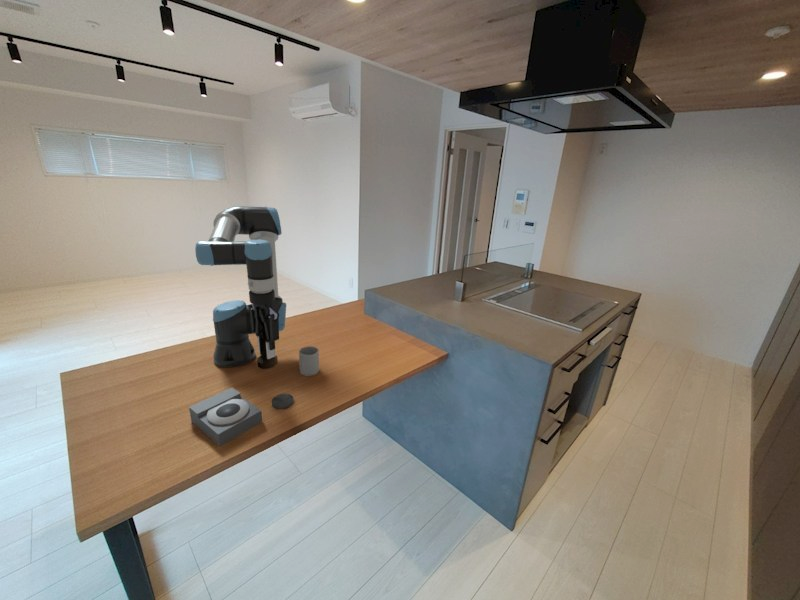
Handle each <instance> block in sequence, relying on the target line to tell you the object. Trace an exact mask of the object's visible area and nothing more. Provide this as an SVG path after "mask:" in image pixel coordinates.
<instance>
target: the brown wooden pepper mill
mask: <svg viewBox="0 0 800 600" xmlns="http://www.w3.org/2000/svg"><path fill="white" fill-rule="evenodd" d="M259 322H260V323H261V325H262V326H263V328H262V329H261V330H262V334H260V335H259V340H260V351H261V354H260V355H259V356H258V357H257V358H256V365H257V367H258V368H259V369H261V370H268V369H273V368H275V367H276V366H277V365H278V364H279V359H278V355H276V354H275V357H273V358H270V359H267V351H266V342H265V341H266V340H267V336H266V331H265V326H264V322H262V319H261V317H260V319H259Z"/></svg>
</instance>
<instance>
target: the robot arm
mask: <svg viewBox="0 0 800 600" xmlns="http://www.w3.org/2000/svg"><path fill="white" fill-rule="evenodd" d="M282 233H283V232H282V225H281V220H280V216H279V211H278V209H277V208H275V207H272V206H271V207H269V206H244V205H243V206H242V205H241V206H240V205H239V206H238V205H237V206H236V205H235V206H231V207H229V208H227V209H224V210H222V211H221V212H219V213H218V214H217V215H216V216H215V217H214V219H213V229H212V232H211V233H210V236H209V238H208V239H207V240H203V241H202V240H201V241H197V242H196V243H195V257H196V262H197V263H198V264H199V265H201V266H210V267H213V266H235V265H236V266H237V265H239V266H240V265H245V266H246V272H247V274H246V275H247V285H248V290H249V291H248V295H249V296H248V297H249V302H250V304H246V302H245V301H244V300H236V299H235V300H231V301H226V302H222V303H220V304H218V305H217V306H215V307H214V308H213V311H212V322H213V325H214V326H213V327H214V333H215V341H216V343H215V347H214V352H213V355H212V356H213V363H214V364H215V365H216V366H219V367H220V368H221V367H222V368H234V367H235V368H236V367H240V366H243V365H246V364H248V363H250V362H251V361H253V360H254V359H255V357H256V349H255V348H254V346H253V344H252V342H251V340H250V335H255V336H256V339H257V348H258V355H261V351H260V340H259V335H260V334H262V330H261V329H262V328H263V326H262V325H261V323H260V322H259V319H260V317H261V319H262V322H264V326H265V331H266V336H267V340H266V341H265V342H266V351H267V359H270V358H273V357H275V355H276V341H278V340H280V332H282V331H284V330H285V328H286V314H287V302H283V298H282V297H281V296H280V295H279V287H278V285H279V283H278V270H277V268H278V267H277V255H276V253H277V251H276V242H277V241H278V240H279V236H280V235H282ZM237 235H247V236H248V238H249V240H247V241H246V240H245V241H243V240H242V241H240V240H239V241H235V239H236V236H237Z"/></svg>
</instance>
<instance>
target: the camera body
mask: <svg viewBox="0 0 800 600" xmlns="http://www.w3.org/2000/svg"><path fill="white" fill-rule="evenodd" d="M188 408H189V409H188V410H189V414H190V421H191V423H192V424H194V425H195V426H196V427H197V428H198V429H200V431H201V432H203V433H204V434H205V435H206V436H208V438H210V439H211V440H212V441H213V442H215V444H217V446H219V447H221V446H223V445H225V444H226V443H228V442H229V441H232V440H233V439H235V438H236V437H238V436H240V435H242V434H243V433H245V432H247V431H248V430H249V431H250V429H253V427H256V426H257V425H259V424H261V423H262V422H263V413H262V410H261V409H260V408H259V407H257V406H255V405H254V404H253V403H251V402H250V401H249V400H247V399H245V397H242V396H241V392H239V391H238V390H236V389H235V388H234V387H230V388H228V389H225V390H223V391H221V392H219V393H217V394H214V395H211V396H210V397H208V398H206V399H203V400H201V401H199V402H196V403H195V404H192V405H190V406H189V407H188Z"/></svg>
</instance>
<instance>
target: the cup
mask: <svg viewBox="0 0 800 600" xmlns="http://www.w3.org/2000/svg"><path fill="white" fill-rule="evenodd" d="M319 352H320V351H319V347H316V346H311V345H310V346H304V347H300V349H299V350H298V357H299V358H298V360H299V361H298V363H299V372H300V374H301V375H303V376H306V377H311V376H315V375H317V374H318V373H319V370H320V360H319V359H320V357H319V356H320V355H319V354H320V353H319Z"/></svg>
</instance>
